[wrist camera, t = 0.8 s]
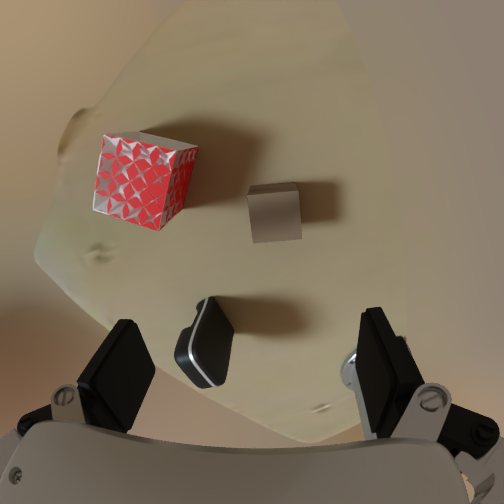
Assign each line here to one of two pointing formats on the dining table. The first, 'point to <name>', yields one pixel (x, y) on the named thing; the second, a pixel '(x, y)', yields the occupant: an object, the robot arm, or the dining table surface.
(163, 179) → the puzzle cube
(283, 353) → the dining table surface
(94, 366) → the robot arm
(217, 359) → the battery charger
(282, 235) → the walnut block
